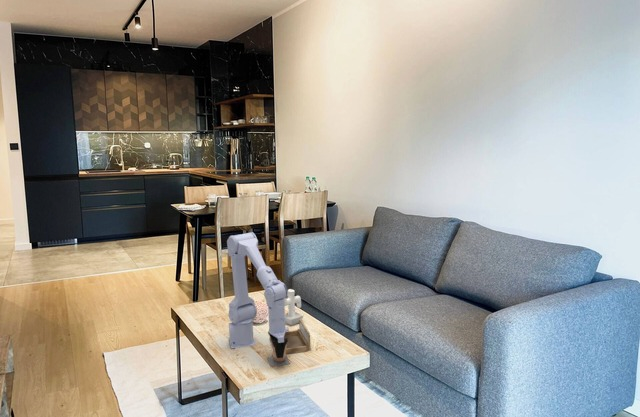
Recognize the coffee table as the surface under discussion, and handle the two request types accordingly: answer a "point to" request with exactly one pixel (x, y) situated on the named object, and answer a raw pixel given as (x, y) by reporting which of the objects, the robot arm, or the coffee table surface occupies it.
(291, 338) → the cold frame
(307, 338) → the lid
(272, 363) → the tile
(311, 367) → the coffee table surface
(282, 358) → the pot
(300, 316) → the figurine
